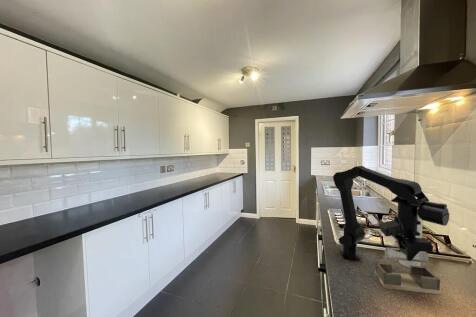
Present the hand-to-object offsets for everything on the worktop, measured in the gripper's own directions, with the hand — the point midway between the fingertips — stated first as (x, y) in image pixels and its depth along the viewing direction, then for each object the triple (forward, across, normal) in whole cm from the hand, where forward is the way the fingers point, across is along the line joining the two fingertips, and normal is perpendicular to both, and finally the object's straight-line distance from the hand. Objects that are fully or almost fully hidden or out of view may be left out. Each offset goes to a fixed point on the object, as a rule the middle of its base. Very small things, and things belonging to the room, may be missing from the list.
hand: (405, 257), depth 76 cm
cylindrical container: (+10, -14, +9) cm, 19 cm away
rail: (-1, 0, 0) cm, 1 cm away
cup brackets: (+9, 0, 0) cm, 9 cm away
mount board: (+10, 0, 0) cm, 10 cm away
